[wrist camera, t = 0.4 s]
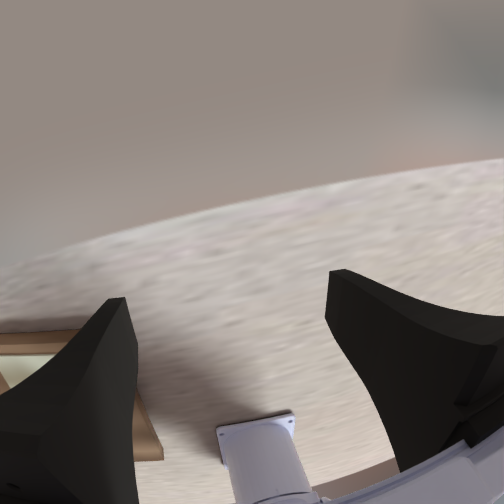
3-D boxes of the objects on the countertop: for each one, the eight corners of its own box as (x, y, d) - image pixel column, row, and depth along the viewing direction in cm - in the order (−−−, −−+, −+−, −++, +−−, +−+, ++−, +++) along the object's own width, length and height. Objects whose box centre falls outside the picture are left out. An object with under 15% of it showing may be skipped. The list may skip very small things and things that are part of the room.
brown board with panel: (163, 448, 29) (164, 461, 27) (36, 447, 26) (34, 458, 24) (114, 326, 22) (111, 341, 20) (-40, 334, 19) (-47, 346, 17)
